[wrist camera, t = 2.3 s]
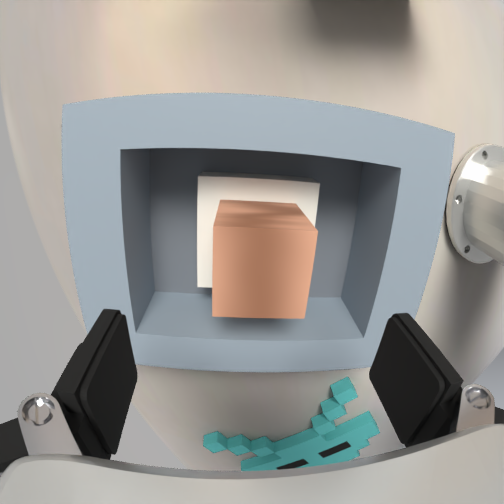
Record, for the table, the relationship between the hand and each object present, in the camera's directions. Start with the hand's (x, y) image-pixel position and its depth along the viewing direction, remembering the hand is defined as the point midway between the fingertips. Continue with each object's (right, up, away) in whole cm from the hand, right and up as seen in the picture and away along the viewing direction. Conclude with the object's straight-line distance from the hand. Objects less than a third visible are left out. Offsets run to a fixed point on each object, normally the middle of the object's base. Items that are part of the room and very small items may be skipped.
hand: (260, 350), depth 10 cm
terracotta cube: (0, +4, +11) cm, 12 cm away
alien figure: (+7, -23, +27) cm, 36 cm away
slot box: (0, +6, +14) cm, 15 cm away
